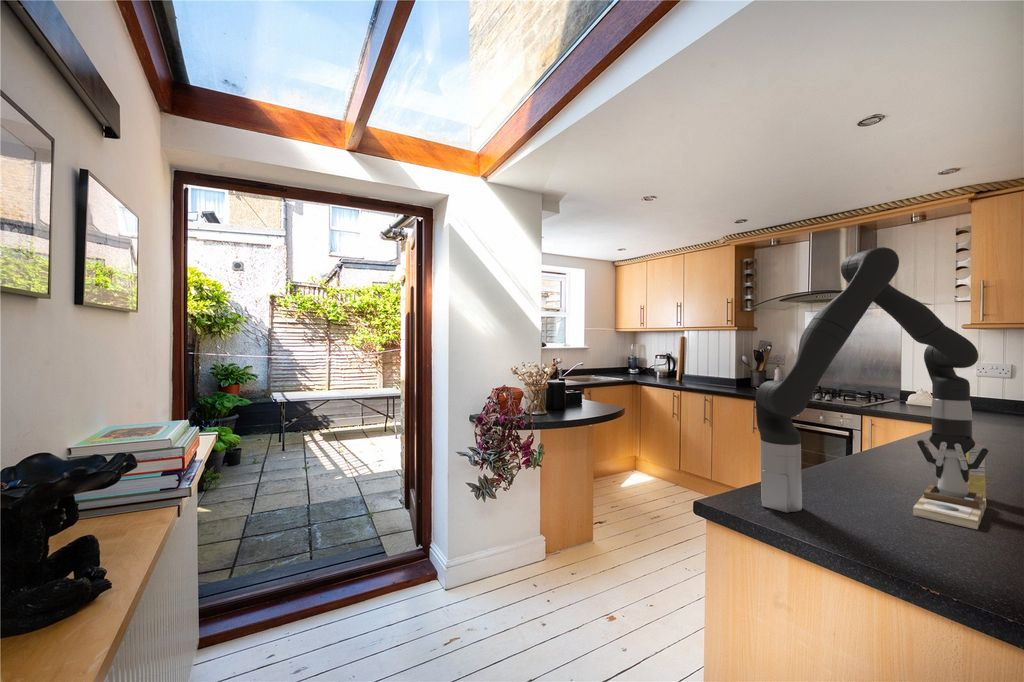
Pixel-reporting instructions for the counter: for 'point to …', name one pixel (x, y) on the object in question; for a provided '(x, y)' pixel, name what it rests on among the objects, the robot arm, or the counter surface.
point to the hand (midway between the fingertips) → (952, 481)
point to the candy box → (976, 474)
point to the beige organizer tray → (951, 508)
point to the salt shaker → (952, 476)
